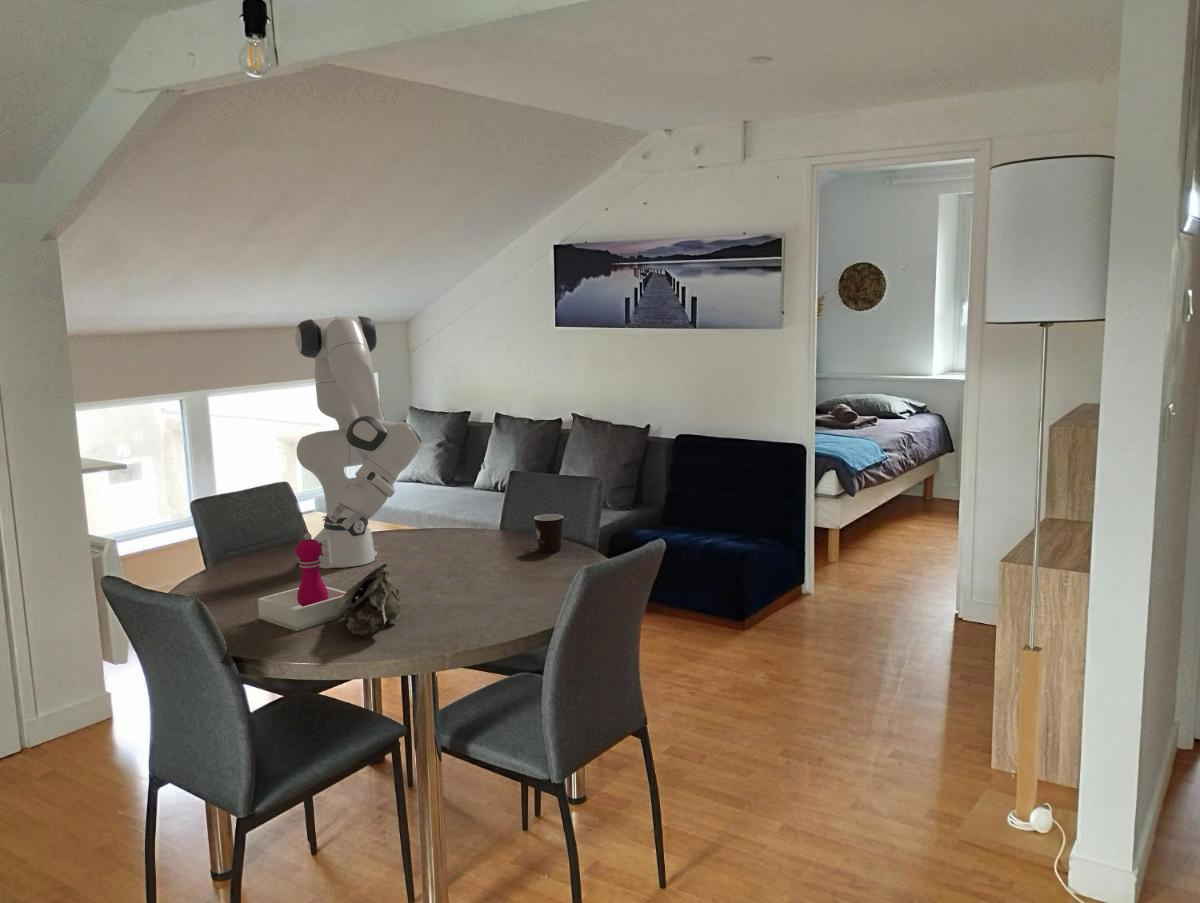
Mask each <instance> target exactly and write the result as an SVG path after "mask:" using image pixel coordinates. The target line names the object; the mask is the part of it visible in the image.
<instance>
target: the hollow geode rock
mask: <svg viewBox="0 0 1200 903" xmlns="http://www.w3.org/2000/svg"><path fill="white" fill-rule="evenodd" d="M388 566H389V563H384V564H383V565H381V566H379V567H378V568H375V569H374V570H373V571H371V572H370V573H369V574H367V575H366V576H364V578H362V579H361V580H360V581H358V582H357V584H355V585H353V586H352V587H351V588H349V589H348V590H347V591H345V592H346V593H345V594H344V596H342V599H341V601H340V602H339V603H338V604H339V607H338V609H337V613H336V614H335V615H334V616H336V617H338V619H342V618H344V615H345V614H346V613H347V616H345V621H344V622H345V628H346V629H347V631H348V632H349V633H350V634H352V635H354V636H357V637H360V638H363V639H365V640H368V639H371V638H373V637H374V636H375V635H377V634H378V633H379V632H381V631H383V630H384V627H385V625H386V622H388V621H395V620H398V619H399V618H400V616H401V615H400V611H401V609H402V608H401V603H402V601H403V596H402V592H401V591H400V590H399V588H397V587H396V586H395V585H394V584H392V583H391V580H392V576H391V574H390V572H389V571H386V570H385V568H387V567H388Z"/></svg>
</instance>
